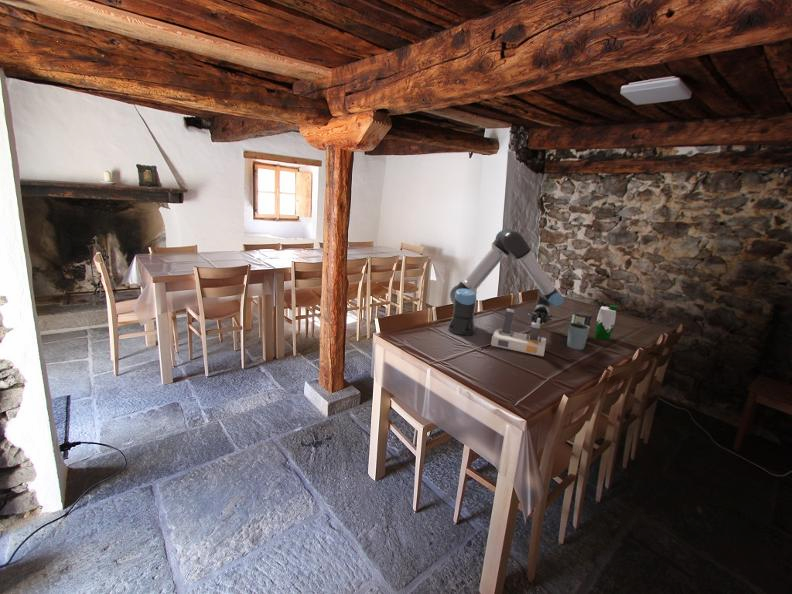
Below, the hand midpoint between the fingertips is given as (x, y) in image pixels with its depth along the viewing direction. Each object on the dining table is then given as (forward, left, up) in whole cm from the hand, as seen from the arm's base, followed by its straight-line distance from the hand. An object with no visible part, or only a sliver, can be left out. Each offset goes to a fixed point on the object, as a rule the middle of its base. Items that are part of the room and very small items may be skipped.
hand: (537, 323), depth 200 cm
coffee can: (+23, +33, -13) cm, 42 cm away
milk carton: (+36, +38, -13) cm, 54 cm away
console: (-7, -5, -13) cm, 16 cm away
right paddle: (-1, -5, -7) cm, 9 cm away
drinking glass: (+21, +13, -13) cm, 28 cm away
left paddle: (-15, -4, -6) cm, 16 cm away
